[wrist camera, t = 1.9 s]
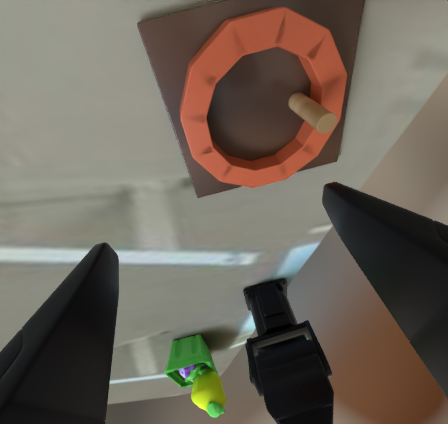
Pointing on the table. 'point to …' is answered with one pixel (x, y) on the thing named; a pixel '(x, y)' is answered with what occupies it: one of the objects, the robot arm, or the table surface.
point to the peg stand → (250, 82)
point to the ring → (226, 58)
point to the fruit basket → (197, 373)
